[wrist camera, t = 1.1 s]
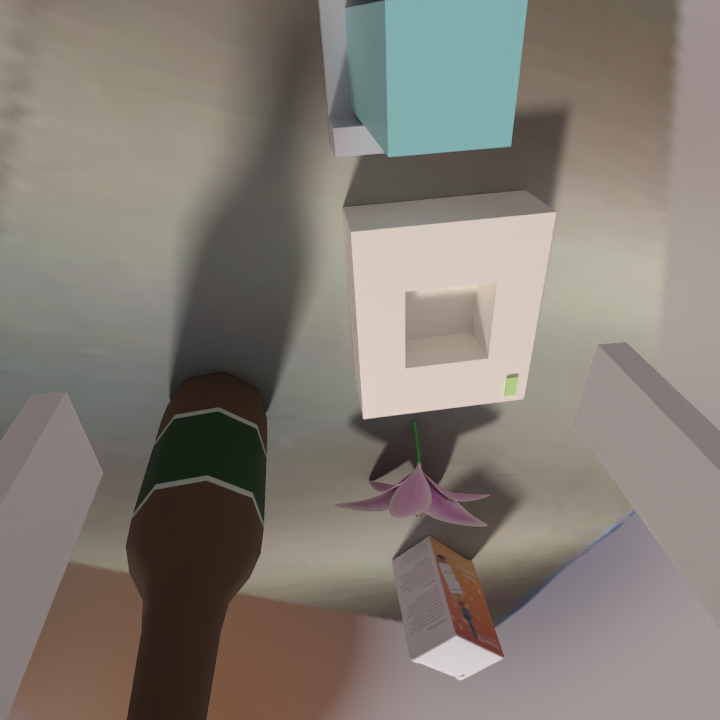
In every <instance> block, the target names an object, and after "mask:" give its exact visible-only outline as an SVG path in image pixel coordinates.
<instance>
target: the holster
mask: <svg viewBox="0 0 720 720" xmlns="http://www.w3.org/2000/svg"><path fill="white" fill-rule="evenodd" d="M379 1H385V0H318V8H319V20H320V32H321V44H322V56H323V69H324V81H325V93H326V105H327V117H328V129H329V141H330V144H331V147H332V150H333V152H334V155H335V157H347V156H358V155H370V154H381V153H384V151H383V150H382V149H381V147H380V146H379V145H378V143H377V142H376V141H375V139H374V138H373V137H372V135H371V134H370V133H369V132H368V130H367V129H366V128H365V126H364V125H363V124H362V122H361V121H360V120H359V118H358V117H357V116H356V114H355V113H354V112H353V111H352V109H351V108H350V91H349V74H348V56H347V39H346V22H345V8H348V7H353V6H358V5H364V4H369V3H374V2H379Z"/></svg>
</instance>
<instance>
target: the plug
mask: <svg viewBox="0 0 720 720" xmlns="http://www.w3.org/2000/svg"><path fill="white" fill-rule="evenodd" d="M527 2H528V0H385V1H379V2H374V3H369V4H364V5H358V6H353V7H348V8H345V22H346V39H347V56H348V74H349V91H350V108H351V109H352V111H353V112H354V113H355V114H356V116H357V117H358V118H359V120H360V121H361V122H362V124H363V125H364V126H365V128H366V129H367V130H368V132H369V133H370V134H371V135H372V137H373V138H374V139H375V141H376V142H377V143H378V145H379V146H380V147H381V149H382V150H383V151H384V153H385V154H386V155H387V156H388V157H397V156H409V155H420V154H431V153H443V152H454V151H466V150H477V149H489V148H500V147H511V143H512V134H513V125H514V116H515V107H516V99H517V90H518V81H519V72H520V64H521V55H522V46H523V37H524V28H525V20H526V11H527Z"/></svg>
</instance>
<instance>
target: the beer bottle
mask: <svg viewBox="0 0 720 720" xmlns="http://www.w3.org/2000/svg"><path fill="white" fill-rule="evenodd" d="M266 455H267V417H266V414H265V411H264V407H263V404H262V401H261V397H260V394H259V391H258V389H257V388H256V387H254V386H251V385H249V384H247V383H245V382H243V381H241V380H239V379H237V378H235V377H233V376H231V375H229V374H227V373H225V372H223V373H217V374H211V375H205V376H200V377H194V378H188V379H186V380H185V382H184V383H183V384H182V386H181V387H180V389H179V390H178V391H177V393H176V394H175V396H174V397H173V398H172V400H171V401H170V403H169V404H168V405H167V408H166V410H165V413H164V415H163V418H162V420H161V424H160V427H159V430H158V434H157V437H156V440H155V443H154V447H153V450H152V453H151V457H150V460H149V463H148V466H147V470H146V473H145V476H144V480H143V483H142V486H141V490H140V493H139V496H138V499H137V503H136V506H135V509H134V513H133V516H132V519H131V524H130V529H129V534H128V539H127V544H126V551H127V558H128V566H129V573H130V575H131V577H132V579H133V581H134V583H135V585H136V587H137V589H138V591H139V593H140V596H141V597H142V600H143V613H142V632H141V638H140V644H139V650H138V656H137V662H136V669H135V674H134V681H133V687H132V692H131V699H130V704H129V710H128V717H127V720H206V718H207V711H208V705H209V699H210V693H211V687H212V681H213V675H214V669H215V663H216V657H217V651H218V644H219V638H220V633H221V629H222V626H223V622H224V618H225V615H226V611H227V608H228V604H229V602H230V601H231V600H232V599H233V597H234V596H235V595H236V594H237V592H238V591H239V590H240V589H241V587H242V586H243V585H244V584H245V583H246V581H247V580H248V579H249V578H250V575H251V573H252V571H253V569H254V567H255V565H256V562H257V560H258V558H259V556H260V553H261V545H262V537H263V530H264V507H265V481H266Z"/></svg>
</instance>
